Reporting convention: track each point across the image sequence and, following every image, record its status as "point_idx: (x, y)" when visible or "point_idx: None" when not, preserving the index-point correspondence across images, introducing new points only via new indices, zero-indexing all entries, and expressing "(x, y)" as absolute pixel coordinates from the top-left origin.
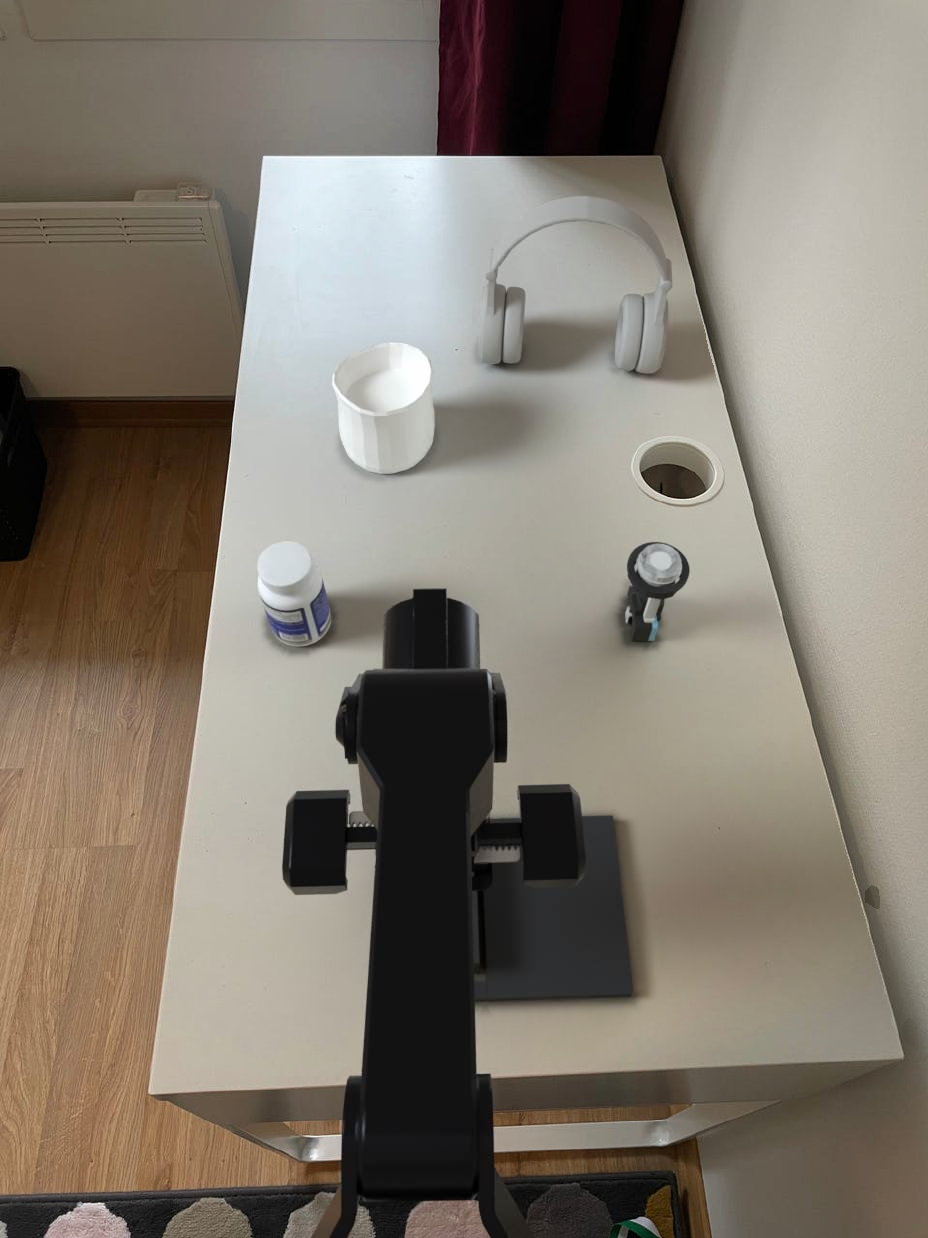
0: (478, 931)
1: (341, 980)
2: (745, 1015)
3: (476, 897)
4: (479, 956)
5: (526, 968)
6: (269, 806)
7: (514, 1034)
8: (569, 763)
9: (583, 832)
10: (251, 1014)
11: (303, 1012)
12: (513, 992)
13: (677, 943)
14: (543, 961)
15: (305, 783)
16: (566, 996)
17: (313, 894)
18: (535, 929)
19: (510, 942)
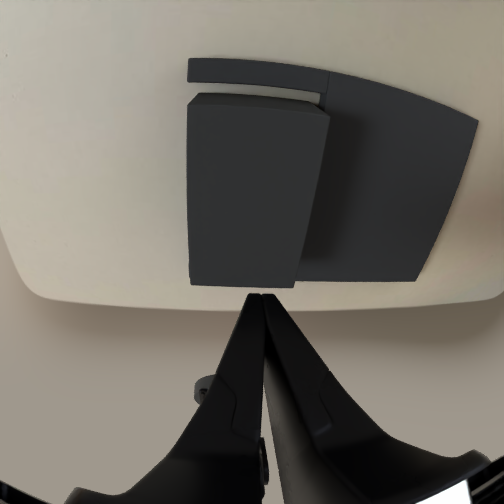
0: (300, 257)
1: (133, 243)
2: (463, 283)
3: (309, 218)
4: (294, 281)
5: (338, 259)
6: (27, 52)
7: (306, 292)
8: (449, 33)
9: (448, 129)
10: (63, 263)
11: (104, 265)
12: (317, 277)
13: (459, 238)
14: (357, 255)
15: (65, 12)
16: (364, 281)
17: (36, 497)
18: (361, 224)
19: (329, 234)
